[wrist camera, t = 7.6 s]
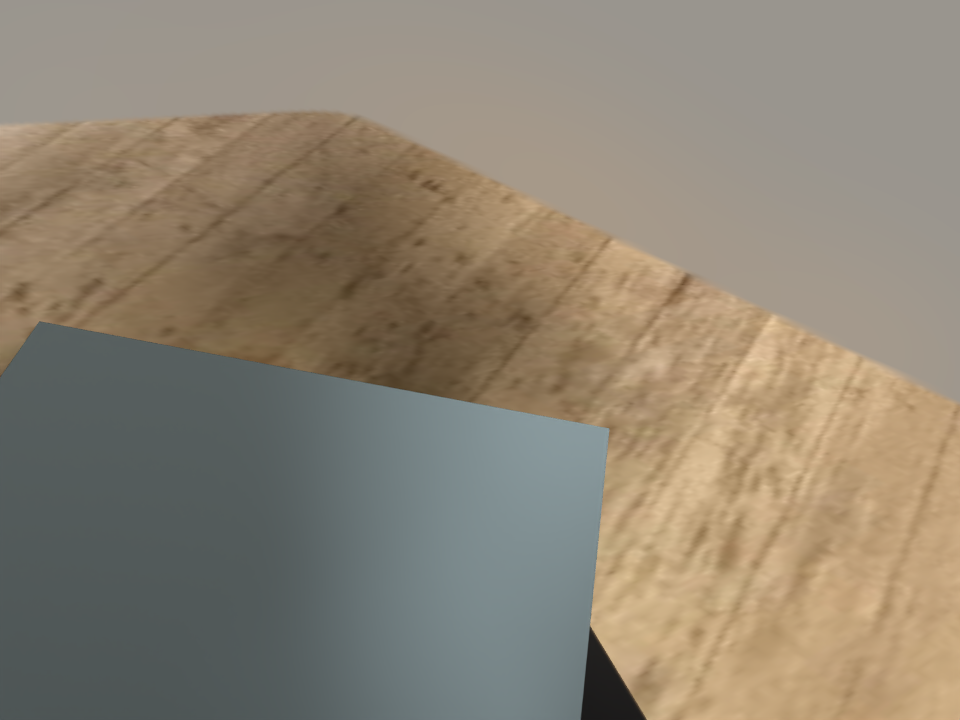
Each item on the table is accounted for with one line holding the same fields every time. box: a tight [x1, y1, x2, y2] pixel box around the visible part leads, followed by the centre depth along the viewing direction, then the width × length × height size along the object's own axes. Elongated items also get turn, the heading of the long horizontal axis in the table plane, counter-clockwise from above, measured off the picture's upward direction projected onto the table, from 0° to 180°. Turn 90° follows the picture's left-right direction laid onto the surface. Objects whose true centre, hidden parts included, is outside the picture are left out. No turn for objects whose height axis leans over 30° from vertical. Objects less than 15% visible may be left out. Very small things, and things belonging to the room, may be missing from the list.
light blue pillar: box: [0, 321, 609, 720], centre depth 8 cm, size 4×4×11 cm
